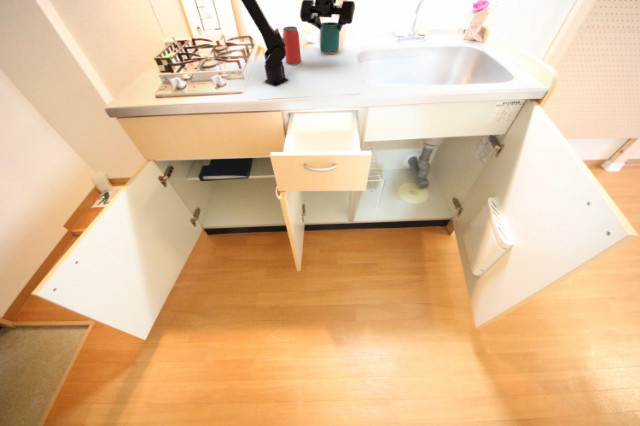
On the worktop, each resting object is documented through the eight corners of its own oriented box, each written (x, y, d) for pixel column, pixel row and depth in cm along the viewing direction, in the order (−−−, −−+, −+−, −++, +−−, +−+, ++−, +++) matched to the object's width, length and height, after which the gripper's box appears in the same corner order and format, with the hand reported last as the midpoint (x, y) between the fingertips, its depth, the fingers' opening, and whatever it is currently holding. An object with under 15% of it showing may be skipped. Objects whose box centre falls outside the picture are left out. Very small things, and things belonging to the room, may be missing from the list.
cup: (349, 54, 108) (350, 27, 100) (323, 58, 105) (323, 32, 98) (337, 46, 115) (338, 20, 108) (314, 50, 112) (312, 24, 105)
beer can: (284, 60, 105) (279, 27, 96) (298, 58, 106) (295, 25, 97) (288, 66, 101) (284, 31, 92) (303, 63, 102) (300, 29, 93)
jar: (341, 51, 94) (343, 24, 88) (326, 54, 92) (326, 26, 86) (332, 47, 99) (333, 21, 92) (317, 50, 96) (316, 23, 90)
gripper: (357, -34, 74) (359, 8, 89) (300, -33, 78) (312, 7, 93) (349, 3, 74) (353, 39, 90) (293, 1, 78) (306, 36, 93)
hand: (330, 29), depth 91 cm, fingers closed on jar, 7 cm apart
